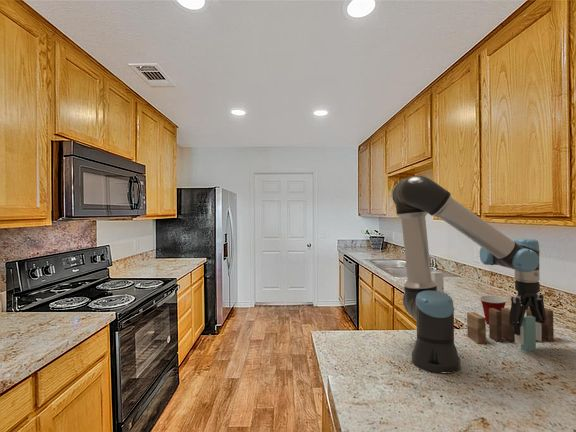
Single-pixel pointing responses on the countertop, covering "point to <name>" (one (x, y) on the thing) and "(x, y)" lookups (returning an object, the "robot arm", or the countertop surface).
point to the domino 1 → (495, 325)
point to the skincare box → (438, 280)
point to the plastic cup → (492, 304)
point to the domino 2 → (507, 326)
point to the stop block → (476, 327)
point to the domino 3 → (528, 313)
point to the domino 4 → (529, 334)
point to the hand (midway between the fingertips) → (528, 341)
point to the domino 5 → (548, 327)
